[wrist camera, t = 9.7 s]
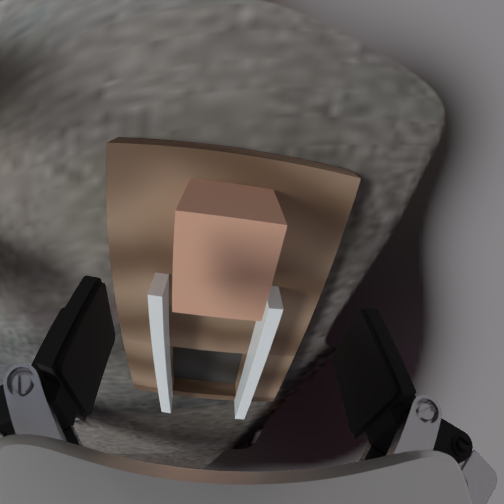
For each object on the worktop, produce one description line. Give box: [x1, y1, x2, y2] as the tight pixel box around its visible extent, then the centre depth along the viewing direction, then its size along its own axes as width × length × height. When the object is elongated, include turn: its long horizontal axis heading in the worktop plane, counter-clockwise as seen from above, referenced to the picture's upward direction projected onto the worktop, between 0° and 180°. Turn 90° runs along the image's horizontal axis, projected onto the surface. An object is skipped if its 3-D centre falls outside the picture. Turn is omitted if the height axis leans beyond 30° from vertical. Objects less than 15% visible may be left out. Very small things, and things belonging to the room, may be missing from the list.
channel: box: [148, 272, 284, 419], centre depth 23 cm, size 17×9×2 cm, turn 170°
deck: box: [106, 137, 361, 401], centre depth 23 cm, size 26×16×2 cm, turn 170°
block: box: [172, 178, 287, 321], centre depth 16 cm, size 6×5×5 cm
